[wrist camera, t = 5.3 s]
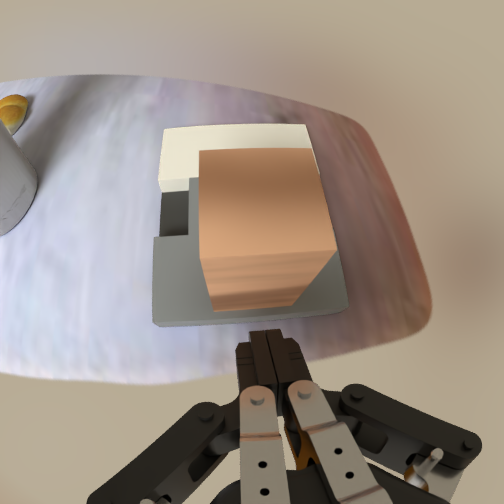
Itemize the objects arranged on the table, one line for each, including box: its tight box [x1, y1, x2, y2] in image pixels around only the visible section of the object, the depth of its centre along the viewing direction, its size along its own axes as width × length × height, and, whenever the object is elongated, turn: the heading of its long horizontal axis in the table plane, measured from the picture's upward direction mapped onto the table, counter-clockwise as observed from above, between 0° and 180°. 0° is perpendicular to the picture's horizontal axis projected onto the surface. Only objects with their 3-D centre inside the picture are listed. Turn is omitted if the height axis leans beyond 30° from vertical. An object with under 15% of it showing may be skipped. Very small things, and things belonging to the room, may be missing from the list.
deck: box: [152, 177, 349, 327], centre depth 22 cm, size 11×13×2 cm
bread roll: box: [0, 94, 28, 136], centre depth 26 cm, size 8×9×4 cm
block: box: [199, 148, 337, 312], centre depth 16 cm, size 5×5×9 cm
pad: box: [158, 124, 320, 193], centre depth 25 cm, size 6×13×2 cm, turn 95°
